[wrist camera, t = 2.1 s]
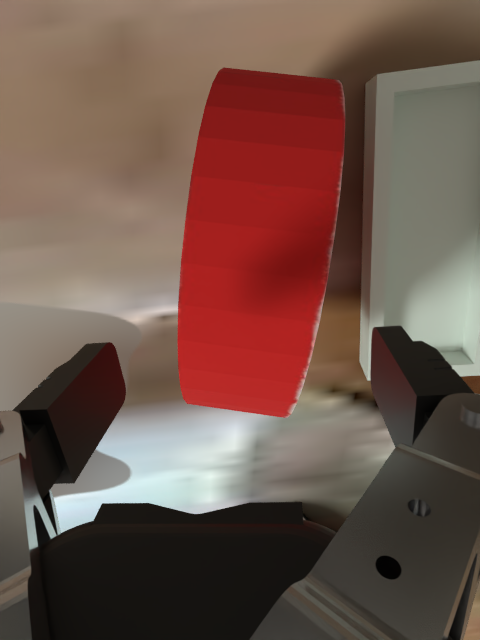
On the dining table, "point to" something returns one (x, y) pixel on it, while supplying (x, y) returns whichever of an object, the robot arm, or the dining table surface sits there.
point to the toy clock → (258, 238)
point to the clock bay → (423, 211)
